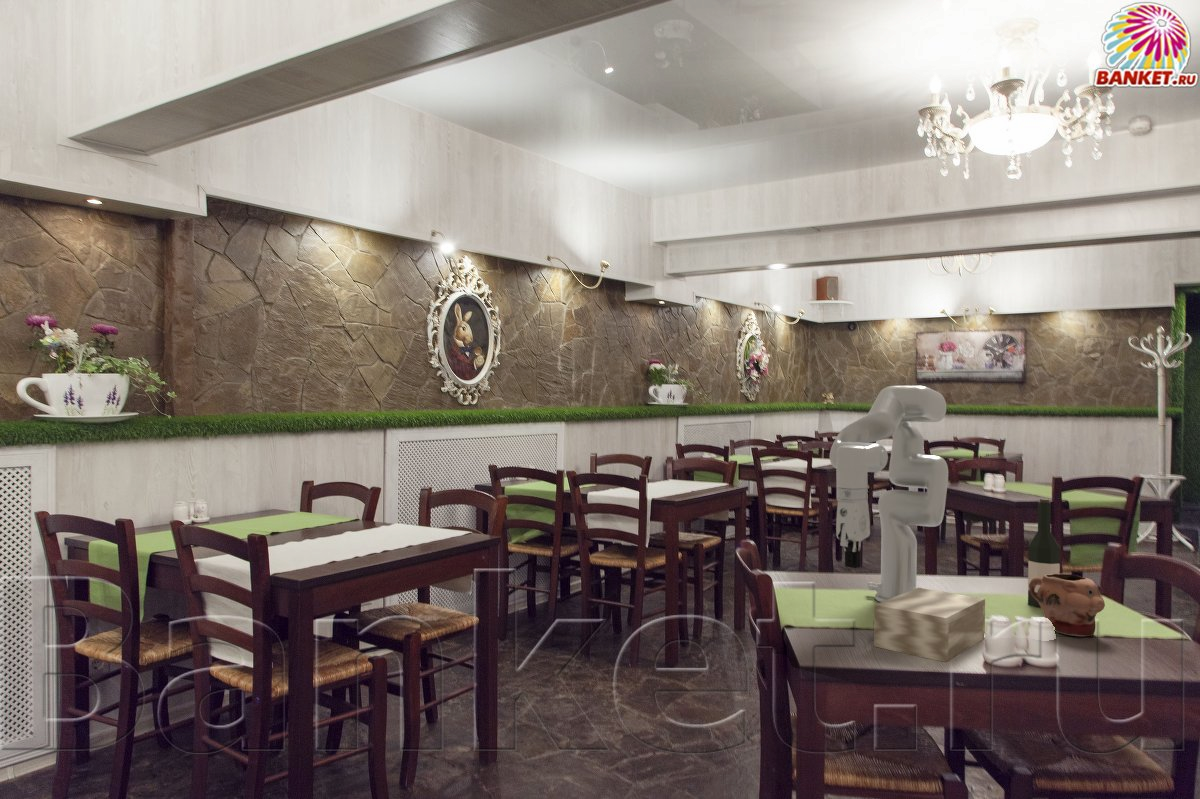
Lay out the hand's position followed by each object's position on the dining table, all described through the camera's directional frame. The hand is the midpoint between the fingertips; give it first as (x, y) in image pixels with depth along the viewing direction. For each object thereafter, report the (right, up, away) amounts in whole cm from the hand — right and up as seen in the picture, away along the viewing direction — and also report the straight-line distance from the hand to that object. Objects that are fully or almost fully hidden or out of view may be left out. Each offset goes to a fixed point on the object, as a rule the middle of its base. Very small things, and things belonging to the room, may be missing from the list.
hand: (852, 566), depth 203 cm
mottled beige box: (+14, -15, -14) cm, 25 cm away
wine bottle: (+62, -16, +24) cm, 68 cm away
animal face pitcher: (+52, -16, -2) cm, 55 cm away
